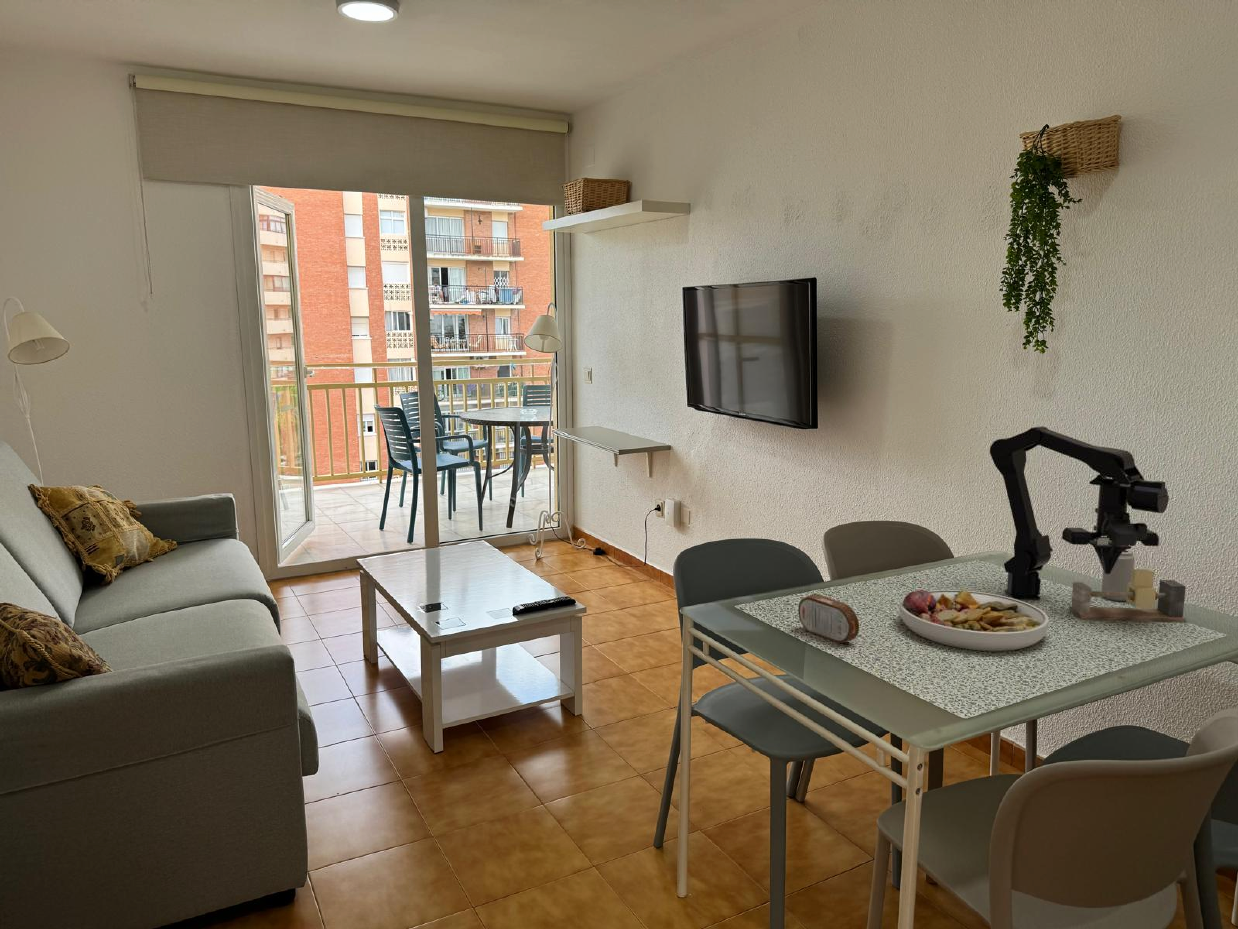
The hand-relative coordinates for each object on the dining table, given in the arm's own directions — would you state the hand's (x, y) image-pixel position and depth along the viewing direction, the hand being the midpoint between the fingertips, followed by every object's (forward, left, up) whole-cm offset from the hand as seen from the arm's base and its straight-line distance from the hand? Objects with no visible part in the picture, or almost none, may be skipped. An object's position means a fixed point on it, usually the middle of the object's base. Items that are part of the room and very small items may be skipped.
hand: (1106, 573), depth 198 cm
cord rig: (+5, 0, -10) cm, 11 cm away
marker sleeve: (+8, 0, -7) cm, 11 cm away
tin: (-65, -20, -10) cm, 69 cm away
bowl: (-33, -13, -10) cm, 37 cm away
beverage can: (+9, +14, -10) cm, 19 cm away
